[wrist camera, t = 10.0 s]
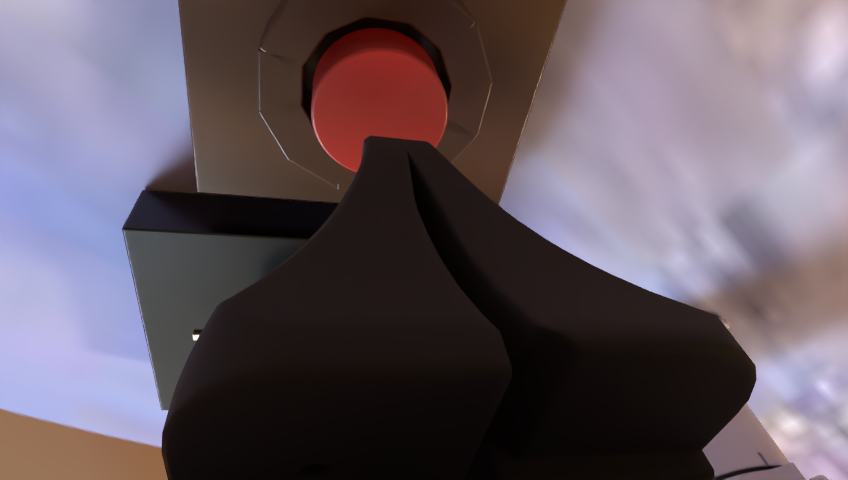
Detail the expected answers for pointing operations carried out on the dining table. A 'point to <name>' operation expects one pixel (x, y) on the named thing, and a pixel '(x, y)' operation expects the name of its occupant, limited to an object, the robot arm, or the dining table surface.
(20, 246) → the dining table surface
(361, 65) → the power button
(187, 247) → the dial panel
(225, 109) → the switch block
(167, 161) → the dining table surface
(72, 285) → the dining table surface
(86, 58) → the dining table surface
